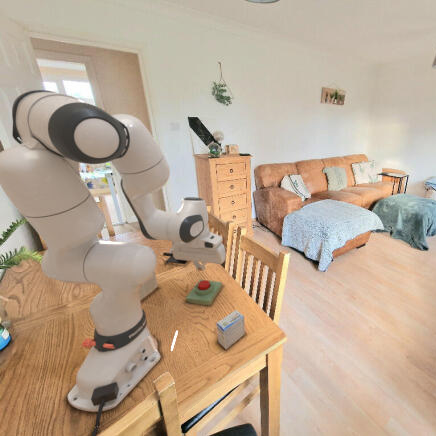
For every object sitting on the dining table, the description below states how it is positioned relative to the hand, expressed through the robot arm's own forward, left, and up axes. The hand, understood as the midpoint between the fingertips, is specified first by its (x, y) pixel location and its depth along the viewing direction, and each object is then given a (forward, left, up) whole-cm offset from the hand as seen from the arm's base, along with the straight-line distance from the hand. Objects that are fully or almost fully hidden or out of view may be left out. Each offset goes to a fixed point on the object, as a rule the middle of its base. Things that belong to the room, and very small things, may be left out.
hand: (201, 270), depth 94 cm
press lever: (+20, +24, -3) cm, 31 cm away
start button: (+1, 0, -9) cm, 9 cm away
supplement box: (-5, +28, -13) cm, 31 cm away
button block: (+1, 0, -12) cm, 12 cm away
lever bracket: (+24, +24, -12) cm, 36 cm away
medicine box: (-18, -19, -13) cm, 29 cm away
